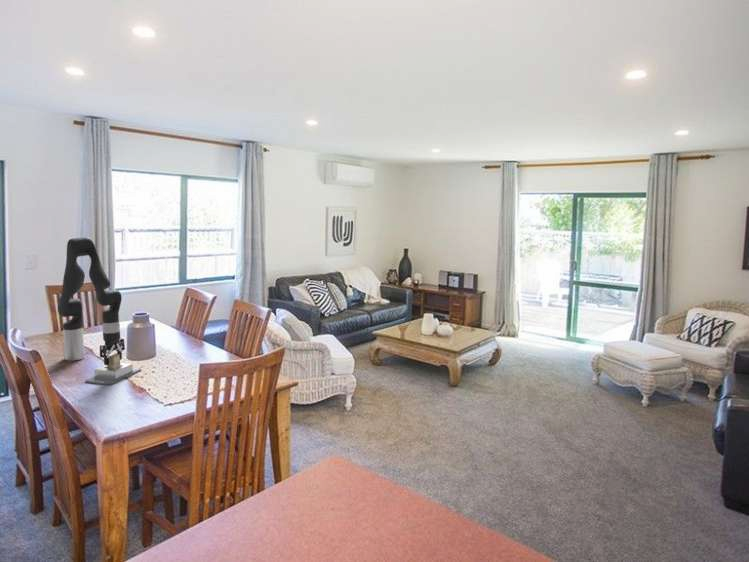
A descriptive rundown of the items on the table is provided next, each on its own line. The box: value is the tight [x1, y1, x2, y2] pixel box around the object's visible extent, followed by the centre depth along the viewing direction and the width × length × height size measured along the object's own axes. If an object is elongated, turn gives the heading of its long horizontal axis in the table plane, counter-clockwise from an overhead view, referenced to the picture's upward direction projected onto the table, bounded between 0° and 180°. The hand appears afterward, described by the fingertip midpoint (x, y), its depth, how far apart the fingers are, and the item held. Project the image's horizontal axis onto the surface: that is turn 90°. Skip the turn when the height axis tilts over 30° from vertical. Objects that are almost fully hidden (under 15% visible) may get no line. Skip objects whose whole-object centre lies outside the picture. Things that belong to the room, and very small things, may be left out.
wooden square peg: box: [107, 353, 121, 369], centre depth 247 cm, size 4×4×10 cm
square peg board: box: [84, 362, 142, 386], centre depth 248 cm, size 14×22×5 cm, turn 168°
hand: (113, 362), depth 247 cm, fingers open, 8 cm apart
